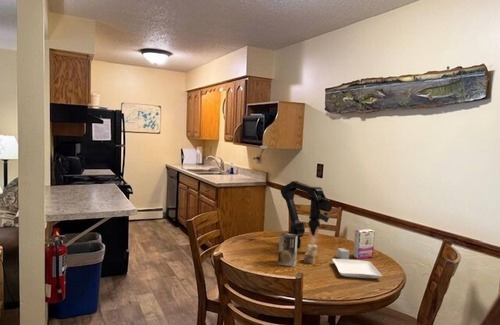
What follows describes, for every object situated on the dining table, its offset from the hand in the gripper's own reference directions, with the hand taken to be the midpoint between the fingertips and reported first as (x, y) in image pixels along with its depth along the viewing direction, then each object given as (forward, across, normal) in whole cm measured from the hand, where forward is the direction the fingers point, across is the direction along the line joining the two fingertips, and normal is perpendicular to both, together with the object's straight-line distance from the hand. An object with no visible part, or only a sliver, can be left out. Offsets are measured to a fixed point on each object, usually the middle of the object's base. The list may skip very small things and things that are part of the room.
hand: (313, 234), depth 208 cm
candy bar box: (+12, +5, -30) cm, 33 cm away
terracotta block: (+1, 0, 0) cm, 1 cm away
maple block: (+12, 0, 0) cm, 12 cm away
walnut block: (+12, -15, +1) cm, 19 cm away
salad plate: (+13, -21, -23) cm, 34 cm away
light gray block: (+12, -1, -18) cm, 22 cm away
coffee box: (+12, -22, +13) cm, 28 cm away
